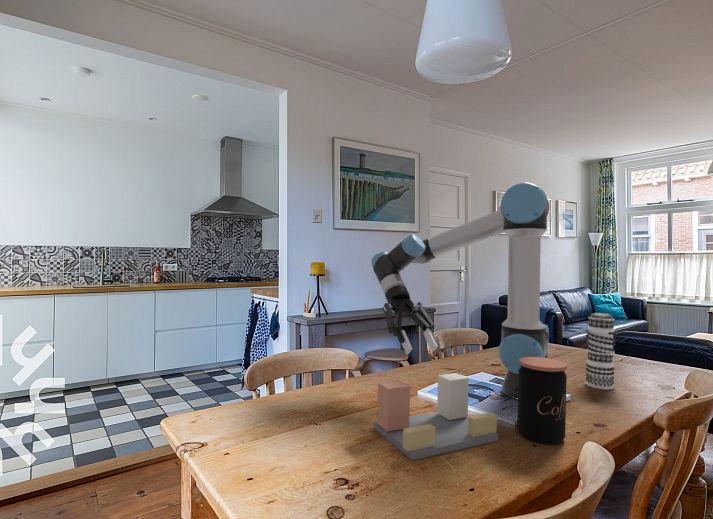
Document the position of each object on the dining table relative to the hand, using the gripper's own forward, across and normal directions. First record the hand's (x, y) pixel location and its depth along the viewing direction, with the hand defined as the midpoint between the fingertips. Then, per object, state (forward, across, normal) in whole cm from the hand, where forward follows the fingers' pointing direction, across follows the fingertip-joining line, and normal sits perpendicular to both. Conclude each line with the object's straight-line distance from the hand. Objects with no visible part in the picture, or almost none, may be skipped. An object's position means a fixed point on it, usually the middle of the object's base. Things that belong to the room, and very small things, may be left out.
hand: (422, 350), depth 117 cm
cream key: (+20, 0, 0) cm, 20 cm away
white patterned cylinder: (+17, -69, -5) cm, 71 cm away
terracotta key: (+20, +18, 0) cm, 27 cm away
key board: (+24, +9, +2) cm, 26 cm away
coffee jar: (+32, -15, +9) cm, 36 cm away
